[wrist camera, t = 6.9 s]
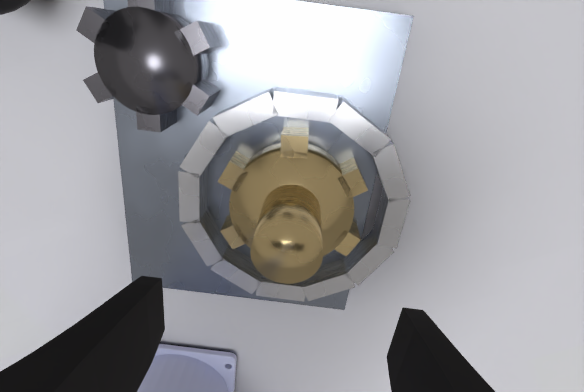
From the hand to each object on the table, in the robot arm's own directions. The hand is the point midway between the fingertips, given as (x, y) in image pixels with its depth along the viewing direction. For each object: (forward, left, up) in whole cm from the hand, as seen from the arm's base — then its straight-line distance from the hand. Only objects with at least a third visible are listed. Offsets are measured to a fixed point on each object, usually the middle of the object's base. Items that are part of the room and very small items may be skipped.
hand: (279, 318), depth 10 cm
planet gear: (0, 0, -8) cm, 8 cm away
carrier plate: (+1, +2, -10) cm, 10 cm away
